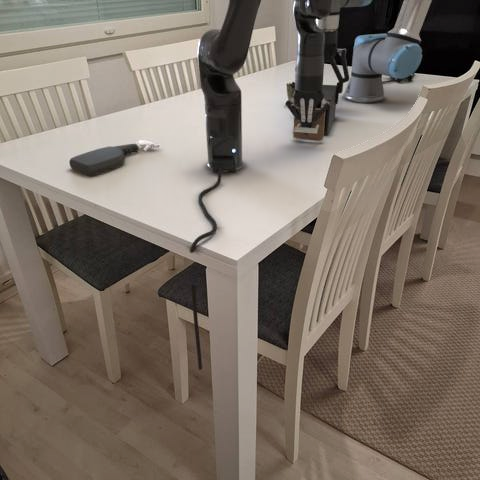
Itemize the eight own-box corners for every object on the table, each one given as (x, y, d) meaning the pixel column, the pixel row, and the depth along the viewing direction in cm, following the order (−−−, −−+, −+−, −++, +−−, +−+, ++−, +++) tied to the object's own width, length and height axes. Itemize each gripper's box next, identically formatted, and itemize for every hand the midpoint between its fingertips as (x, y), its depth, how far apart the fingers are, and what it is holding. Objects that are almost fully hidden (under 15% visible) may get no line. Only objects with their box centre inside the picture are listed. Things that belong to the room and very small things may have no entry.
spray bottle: (67, 168, 120) (139, 144, 136) (91, 178, 114) (163, 151, 130) (65, 157, 118) (137, 134, 134) (89, 167, 112) (162, 142, 128)
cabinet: (327, 134, 139) (330, 99, 133) (295, 132, 142) (297, 98, 136) (334, 117, 155) (337, 85, 149) (306, 115, 158) (307, 83, 152)
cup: (282, 107, 166) (283, 85, 162) (290, 102, 172) (290, 80, 168) (301, 109, 163) (302, 87, 159) (308, 104, 169) (309, 82, 165)
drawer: (319, 146, 128) (322, 115, 123) (289, 144, 130) (290, 113, 125) (330, 122, 147) (332, 94, 143) (303, 120, 150) (305, 93, 145)
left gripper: (335, 69, 121) (330, 131, 131) (288, 67, 125) (286, 128, 134) (332, 75, 115) (327, 140, 125) (282, 74, 119) (281, 136, 128)
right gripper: (363, 29, 139) (355, 101, 151) (292, 27, 145) (289, 97, 156) (362, 32, 133) (353, 107, 145) (287, 30, 139) (285, 103, 150)
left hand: (306, 133), depth 130 cm, fingers closed
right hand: (320, 102), depth 150 cm, fingers closed on cabinet, 10 cm apart
